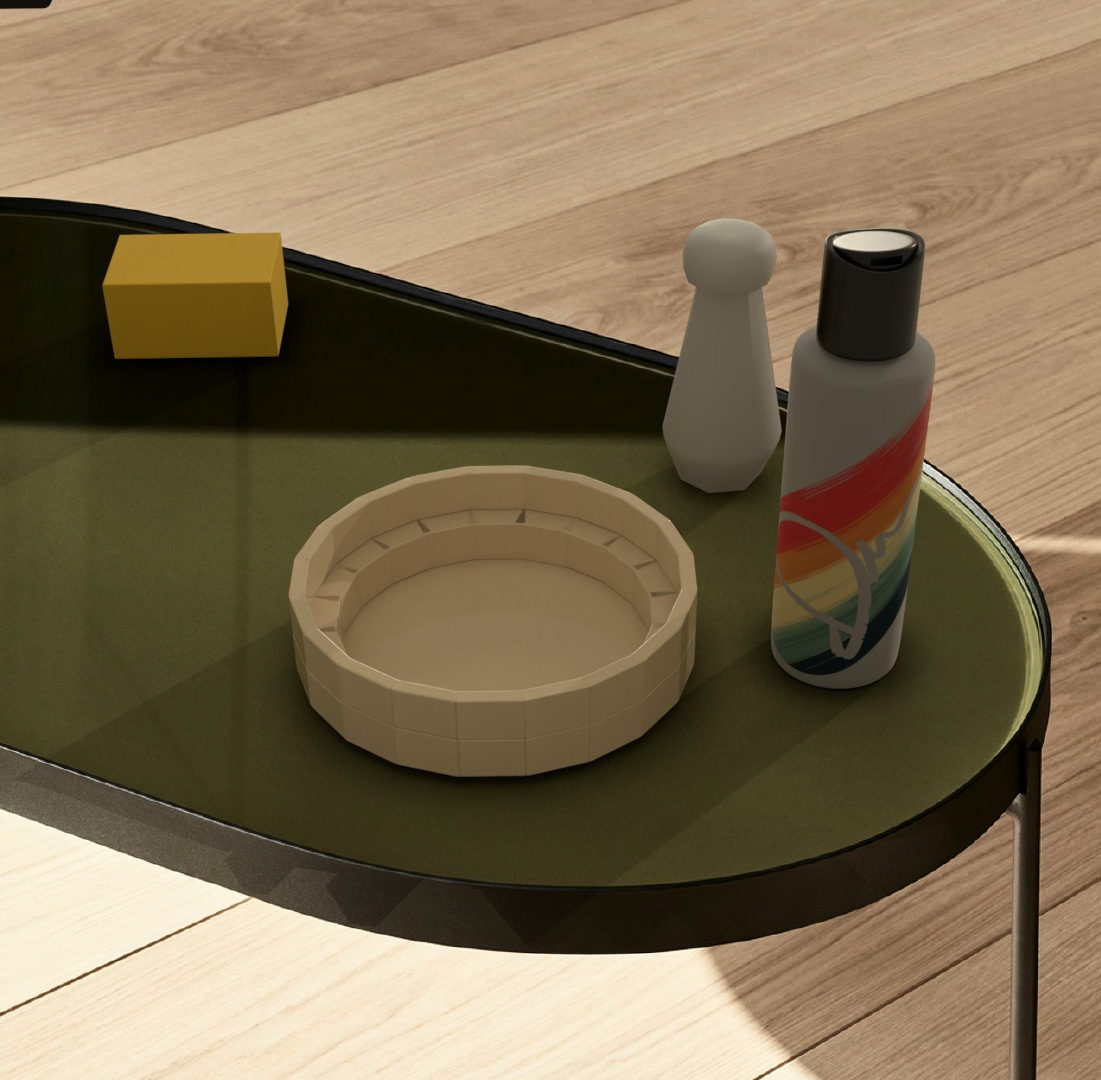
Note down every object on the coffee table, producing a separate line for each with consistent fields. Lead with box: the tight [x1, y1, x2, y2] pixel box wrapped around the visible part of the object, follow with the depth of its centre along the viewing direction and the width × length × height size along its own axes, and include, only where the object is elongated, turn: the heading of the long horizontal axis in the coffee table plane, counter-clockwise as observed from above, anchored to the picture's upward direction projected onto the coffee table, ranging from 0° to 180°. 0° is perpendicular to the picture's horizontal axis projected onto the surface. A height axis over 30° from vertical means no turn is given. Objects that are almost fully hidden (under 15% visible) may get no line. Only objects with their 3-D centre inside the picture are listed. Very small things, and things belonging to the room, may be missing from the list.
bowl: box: [287, 464, 699, 778], centre depth 87 cm, size 17×17×4 cm
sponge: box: [101, 232, 289, 360], centre depth 110 cm, size 9×6×4 cm, turn 91°
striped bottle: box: [770, 227, 936, 690], centre depth 82 cm, size 6×6×20 cm
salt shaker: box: [662, 218, 783, 494], centre depth 96 cm, size 6×6×13 cm
